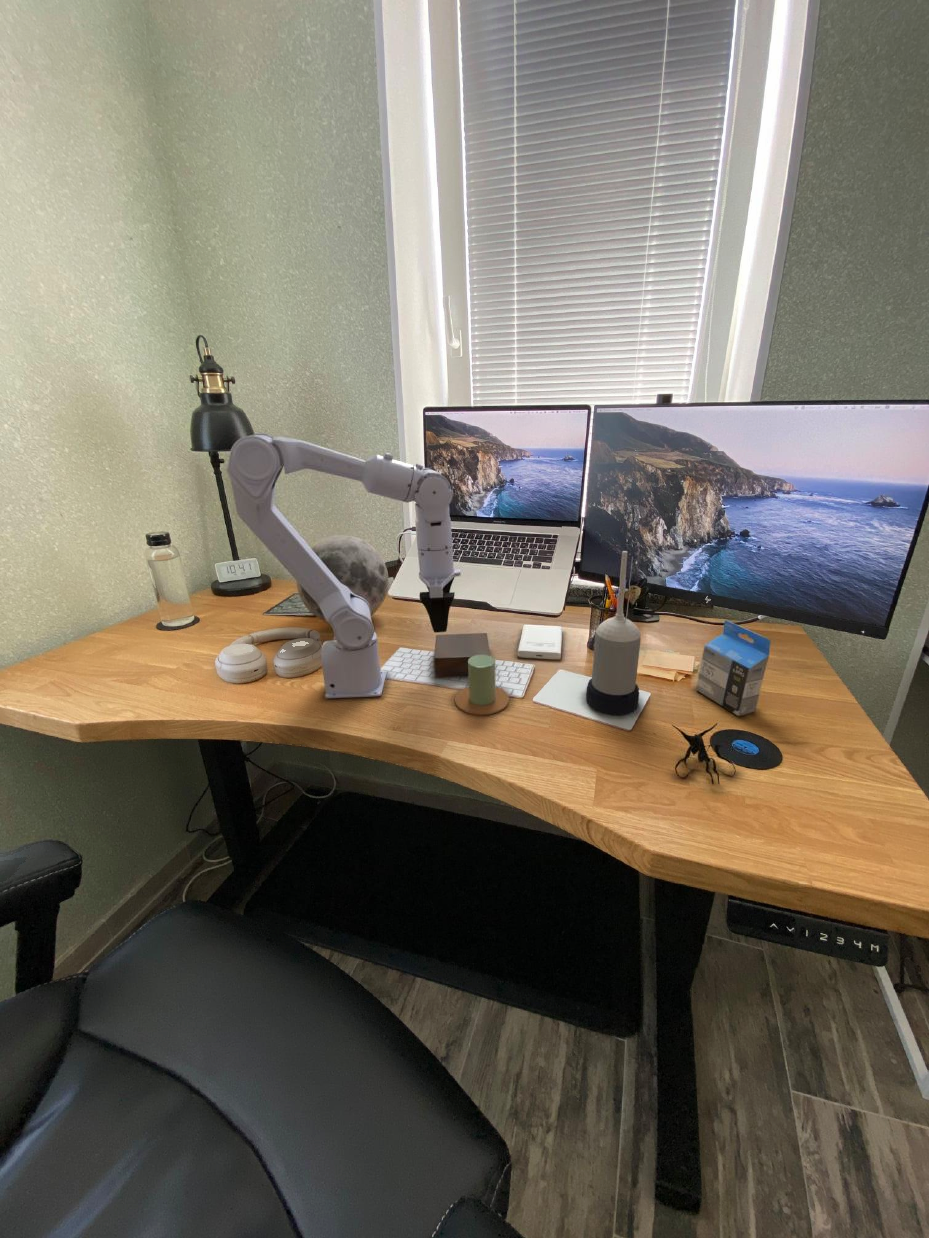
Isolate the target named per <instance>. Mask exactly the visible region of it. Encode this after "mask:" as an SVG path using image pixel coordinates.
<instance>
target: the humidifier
mask: <svg viewBox="0 0 929 1238" xmlns="http://www.w3.org/2000/svg"><path fill="white" fill-rule="evenodd" d="M621 552H622V553H621V562H620V571H619V588H618V592H617V599H616V613H615V615H614V616H613V617H609V618H607V619H606V620H604V621H602V622H601V623H600V624H599V625H598V626H597V628H596V630H595V635H594V646H593V659H592V671H591V678H590V679H589V680H588V683H587V686H586V691H585V692H586V693H585V701H586V704H587V705H588V706H589V708H591V709H592V710H594V711H595V712H598V713H600V714H603V715H608V716H616V717H617V716H618V717H619V716H627V715H630V714H633V713H634V712H635V711H636V710H637V709H638V705H639V700H640V688H639V685H638V684H637V678H638V677H637V676H638V666H639V659H640V649H641V641H642V639H641V635H642V633H641V631H640V629H639V627H638V626H637V625H636V624H635V623H634V622H633V621H632V620H630V619H628V618H627V617H628V612H629V603H630V598H631V594H629V596H628V600H627V605H626V616H625V614H624V597H625V593H626V588H627V586H626V585H627V579H626V578H627V563H628V551H627V550H623V551H621ZM633 560H634V556H631V562H633ZM632 569H633V563H631V566H630V571H632ZM631 579H632V572H630V573H629V580H628V589H629V590H628V591H629V592H631Z"/></svg>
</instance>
